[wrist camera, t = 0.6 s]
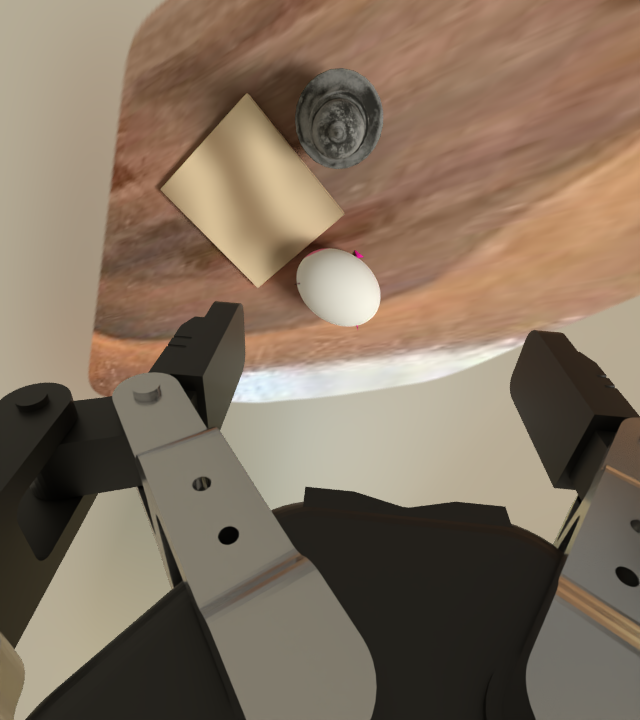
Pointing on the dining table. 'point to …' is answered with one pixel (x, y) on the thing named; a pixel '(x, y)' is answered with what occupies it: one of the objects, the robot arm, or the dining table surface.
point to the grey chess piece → (339, 118)
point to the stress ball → (338, 287)
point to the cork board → (252, 193)
